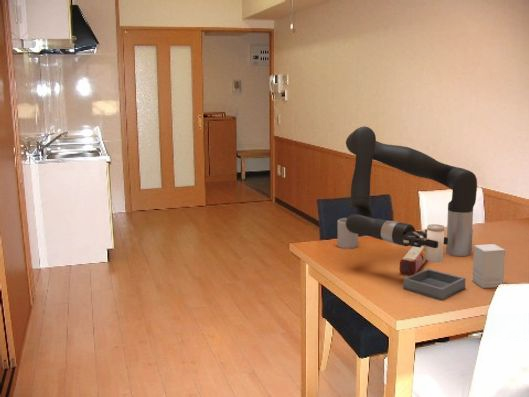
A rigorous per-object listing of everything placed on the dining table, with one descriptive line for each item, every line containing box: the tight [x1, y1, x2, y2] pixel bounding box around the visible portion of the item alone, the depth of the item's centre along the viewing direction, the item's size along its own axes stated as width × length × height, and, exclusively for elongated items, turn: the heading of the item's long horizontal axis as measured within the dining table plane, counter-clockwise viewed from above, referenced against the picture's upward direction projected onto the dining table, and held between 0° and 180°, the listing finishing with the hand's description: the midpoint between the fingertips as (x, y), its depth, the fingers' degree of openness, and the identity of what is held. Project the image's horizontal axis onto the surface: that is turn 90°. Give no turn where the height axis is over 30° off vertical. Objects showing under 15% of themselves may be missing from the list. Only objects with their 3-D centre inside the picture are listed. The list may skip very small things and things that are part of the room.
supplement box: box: [472, 243, 506, 289], centre depth 180 cm, size 7×7×13 cm
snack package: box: [398, 246, 427, 276], centre depth 200 cm, size 21×7×7 cm, turn 151°
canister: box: [425, 223, 445, 263], centre depth 175 cm, size 5×5×11 cm
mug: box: [336, 217, 360, 250], centre depth 228 cm, size 12×8×11 cm
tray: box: [402, 268, 466, 301], centre depth 178 cm, size 14×14×4 cm
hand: (442, 243), depth 173 cm, fingers closed on canister, 5 cm apart
